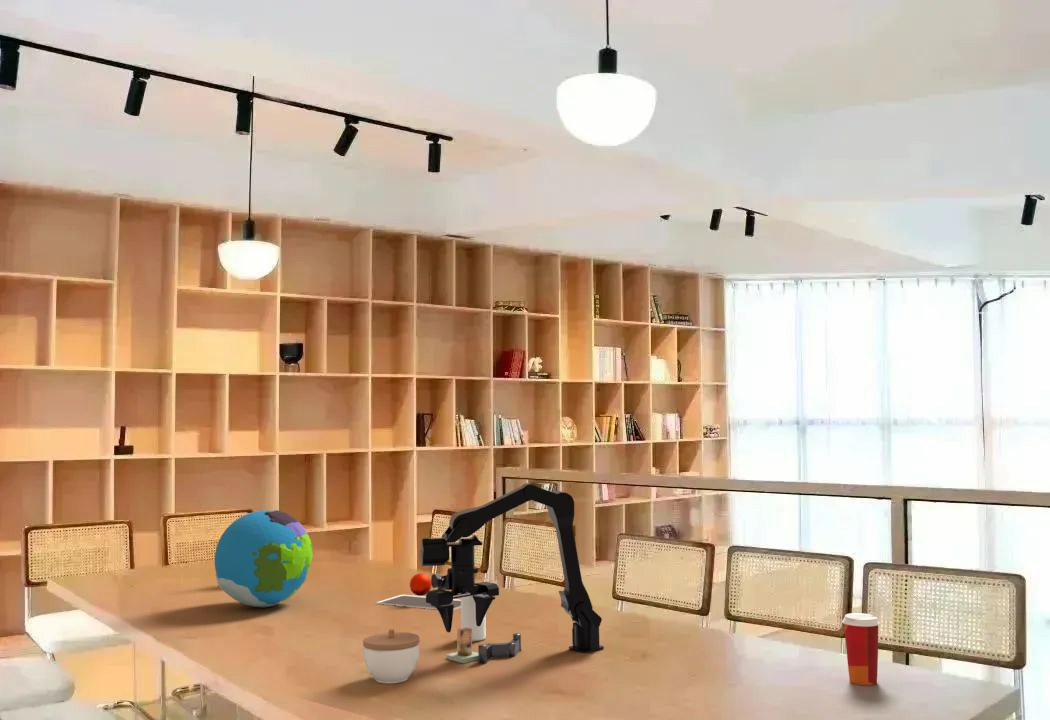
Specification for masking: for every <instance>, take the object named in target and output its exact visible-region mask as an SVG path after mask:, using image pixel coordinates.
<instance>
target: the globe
mask: <svg viewBox="0 0 1050 720" xmlns="http://www.w3.org/2000/svg"><path fill="white" fill-rule="evenodd" d="M313 553H314V552H313V545H312V540H311V538H310V536H309V533H308V532H307V530H306V529H305V527H304V526H303V525H302V524H301V523H300V522H299V521H298V520H297V519H296V518H295V517H293V516H291V515H290V514H288V513H287V512H283V511H281V510H279V509H278V510H275V509H274V510H257V511H252V512H250V513H246V514H244V515H242V516H241V517H238V518H237V519H235V520H234V521H233V522H231V523H230V525H228V526H227V527H226V529H224V531H223V533H222V534H221V535H220V537H219V540H218V542H217V545H216V547H215V552H214V569H215V577H216V582H217V586H218V587H219V588H220V590H222V591H223V593H225V594H227V596H229V597H230V598H232V599H234V600H235V601H237V602H239V603H240V604H244V605H246V606H250V607H255V608H269V607H274V606H276V605H277V604H278V603H280V602H285V601H287V600H288V599H290V598H291V597H293V596H295V594H296V593H297V592H298V591H299V590H300V588H301V587H302V586H303V585H304V584H305V582H306V581H307V579H308V574H309V573H310V568H311V564H312V560H313V557H314V556H313V555H314V554H313Z"/></svg>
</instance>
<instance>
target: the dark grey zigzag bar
mask: <svg viewBox="0 0 1050 720" xmlns="http://www.w3.org/2000/svg"><path fill="white" fill-rule="evenodd" d="M477 646H478V652H477V653H479V660H478V664H484V665H485V664H487V663H488V662H489V661H490V660H491V659H493V658H509V657H510V658H513V657H516V656H517V654H518V653H519V652H521V651H522V634H521V633H519V632H517V633H516V632H515V633H512V639H511V640H510V641H508V642H495V643H484V644H478V645H477Z"/></svg>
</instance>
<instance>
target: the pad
mask: <svg viewBox="0 0 1050 720" xmlns="http://www.w3.org/2000/svg"><path fill="white" fill-rule="evenodd" d="M445 656H446V657H445V658H446V659H447V660H450V661H454V662H457V663H460V664H466V663H470V662H474V661H479V653H478V652H477V651H473V650H472V655H470V656H458V655H457V651H456V652H451V653H447V654H446V655H445Z"/></svg>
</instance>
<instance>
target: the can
mask: <svg viewBox="0 0 1050 720" xmlns="http://www.w3.org/2000/svg"><path fill="white" fill-rule="evenodd" d="M466 593H468V592H466ZM460 600H461V608H460V628H471V629H472V643H473V642H481V641H484V640H485V639H486V637H487V635H486V634H487V629H486V624H487V623H486V622H487V621H486V618H487V615H486V614H485V617H484V619H483V621H482V623H481V626H477V625H476V607H475V605H476V604H475V601H474V599H473V597H472V596H467V597H461V598H460Z"/></svg>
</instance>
